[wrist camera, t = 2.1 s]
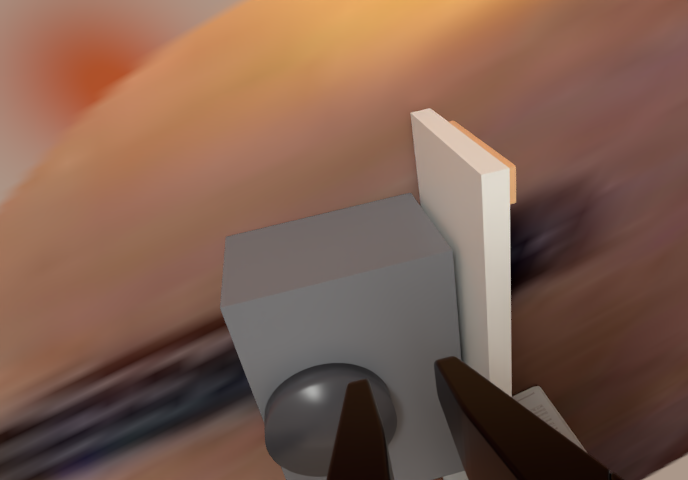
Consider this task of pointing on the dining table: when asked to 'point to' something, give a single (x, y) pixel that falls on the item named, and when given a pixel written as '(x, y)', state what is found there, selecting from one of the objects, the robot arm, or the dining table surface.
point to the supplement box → (540, 407)
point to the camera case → (346, 331)
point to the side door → (471, 234)
